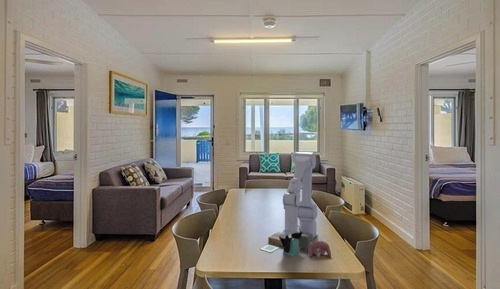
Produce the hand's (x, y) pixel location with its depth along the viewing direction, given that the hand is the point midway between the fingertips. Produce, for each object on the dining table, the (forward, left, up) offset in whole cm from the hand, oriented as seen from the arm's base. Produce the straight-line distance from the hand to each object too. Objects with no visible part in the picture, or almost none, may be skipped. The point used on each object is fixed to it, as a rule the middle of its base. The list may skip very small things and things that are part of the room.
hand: (290, 249), depth 138 cm
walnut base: (-8, -10, -1) cm, 13 cm away
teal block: (0, 0, -2) cm, 2 cm away
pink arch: (-5, +11, -2) cm, 12 cm away
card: (+2, -10, -1) cm, 10 cm away
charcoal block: (-10, +2, -2) cm, 10 cm away
